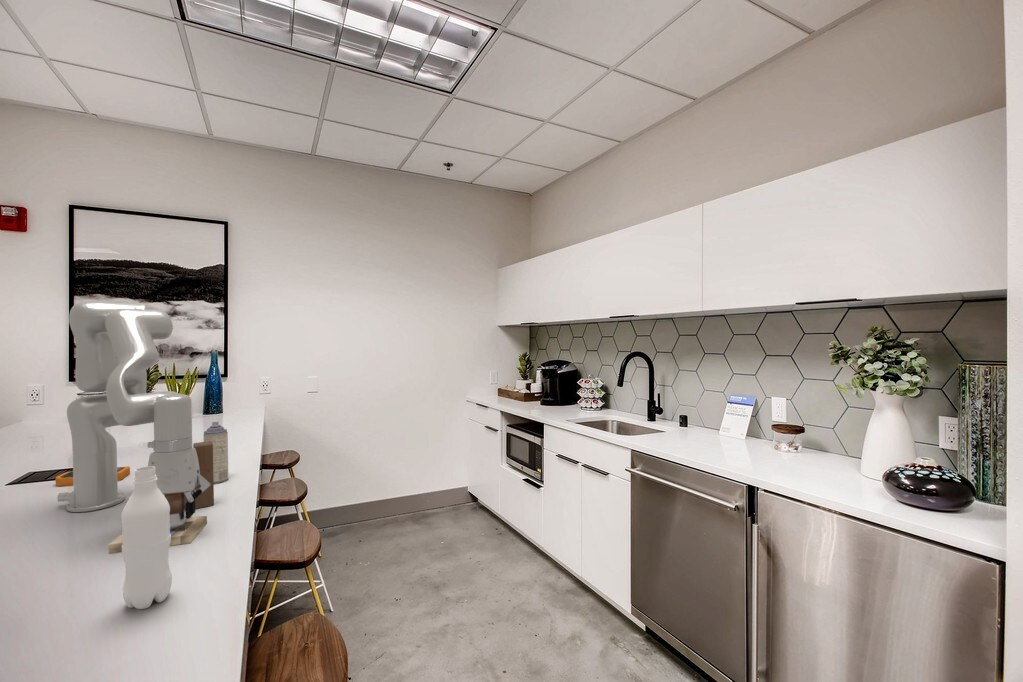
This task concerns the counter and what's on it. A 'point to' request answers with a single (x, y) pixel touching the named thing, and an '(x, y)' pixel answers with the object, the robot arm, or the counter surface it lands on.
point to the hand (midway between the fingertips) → (175, 517)
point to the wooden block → (204, 474)
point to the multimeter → (67, 477)
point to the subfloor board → (177, 538)
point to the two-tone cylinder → (176, 511)
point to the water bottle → (146, 542)
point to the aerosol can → (218, 451)
